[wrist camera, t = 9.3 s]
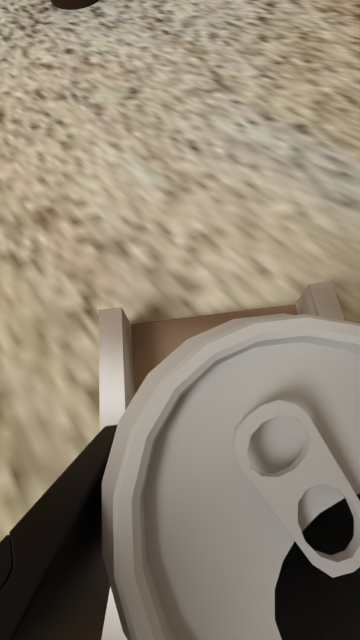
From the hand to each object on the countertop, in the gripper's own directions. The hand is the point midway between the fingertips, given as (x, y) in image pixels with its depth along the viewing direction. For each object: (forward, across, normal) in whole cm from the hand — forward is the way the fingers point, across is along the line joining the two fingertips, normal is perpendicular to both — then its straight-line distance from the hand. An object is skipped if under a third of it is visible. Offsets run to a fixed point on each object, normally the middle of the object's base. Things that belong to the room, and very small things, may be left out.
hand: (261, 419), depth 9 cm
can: (+5, 0, +7) cm, 8 cm away
